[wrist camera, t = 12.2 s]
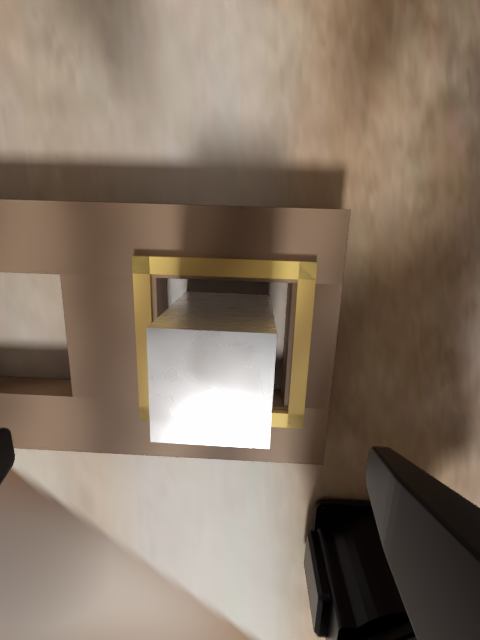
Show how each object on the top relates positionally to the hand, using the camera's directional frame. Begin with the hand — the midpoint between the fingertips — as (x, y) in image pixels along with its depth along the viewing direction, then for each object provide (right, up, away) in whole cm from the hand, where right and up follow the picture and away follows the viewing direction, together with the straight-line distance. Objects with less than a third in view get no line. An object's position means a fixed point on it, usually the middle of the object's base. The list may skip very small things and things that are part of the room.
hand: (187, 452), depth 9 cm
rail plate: (-5, +3, +10) cm, 12 cm away
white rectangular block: (+1, +3, +10) cm, 11 cm away
